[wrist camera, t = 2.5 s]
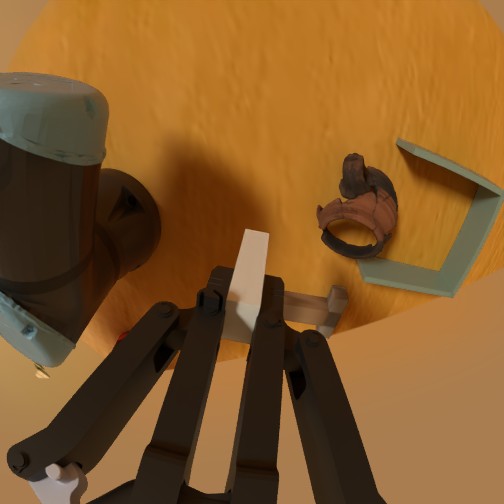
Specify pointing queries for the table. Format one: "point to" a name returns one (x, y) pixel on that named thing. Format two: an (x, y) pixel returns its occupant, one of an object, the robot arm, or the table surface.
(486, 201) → the green u-shaped frame
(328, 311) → the hammer
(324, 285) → the table surface
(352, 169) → the pottery mug
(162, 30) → the table surface
